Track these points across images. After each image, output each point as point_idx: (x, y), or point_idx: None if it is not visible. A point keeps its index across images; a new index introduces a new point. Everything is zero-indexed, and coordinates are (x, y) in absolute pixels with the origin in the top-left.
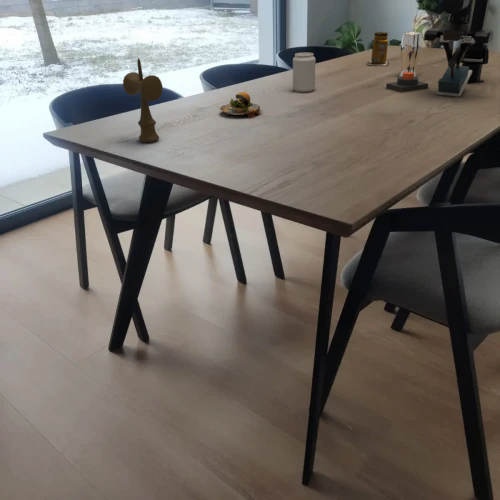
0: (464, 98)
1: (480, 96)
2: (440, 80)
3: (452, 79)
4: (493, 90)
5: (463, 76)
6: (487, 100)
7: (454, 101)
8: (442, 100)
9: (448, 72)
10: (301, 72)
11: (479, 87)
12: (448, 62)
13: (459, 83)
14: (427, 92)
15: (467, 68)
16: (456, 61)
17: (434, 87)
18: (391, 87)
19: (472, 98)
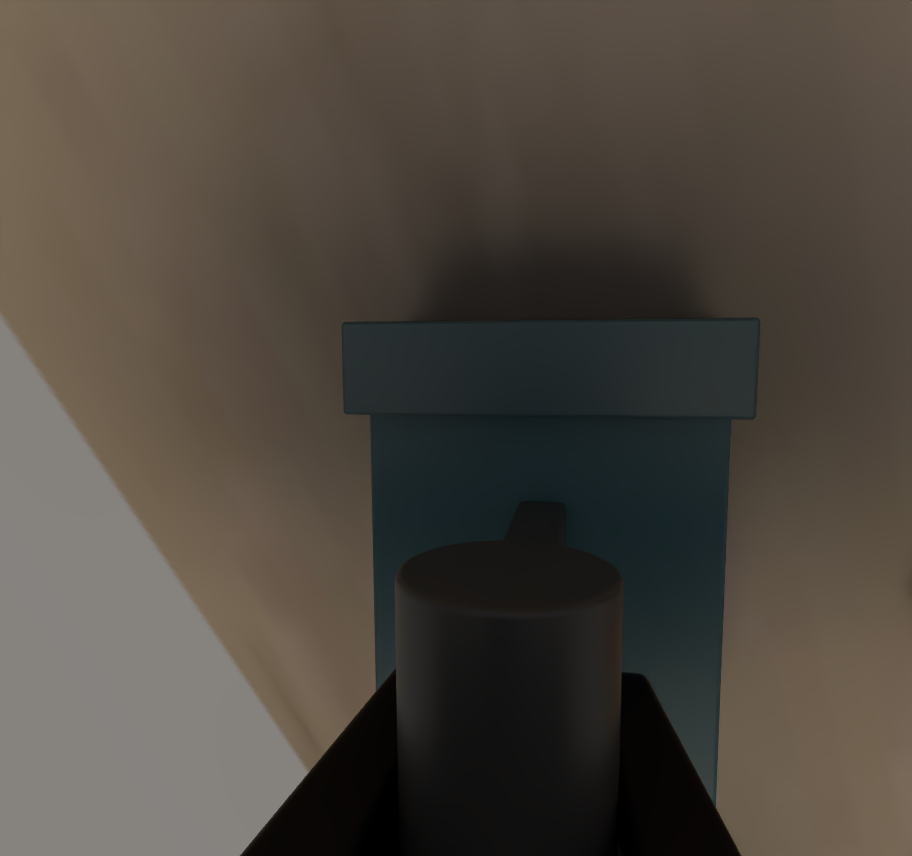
0: (333, 296)
1: (239, 459)
2: (720, 350)
3: (495, 413)
4: (268, 691)
5: (375, 579)
6: (81, 316)
7: (364, 42)
8: (552, 6)
9: (654, 660)
10: None
11: None
12: (606, 608)
13: (346, 333)
14: (892, 416)
15: None
16: (397, 698)
17: (835, 660)
18: None
19: (257, 337)
